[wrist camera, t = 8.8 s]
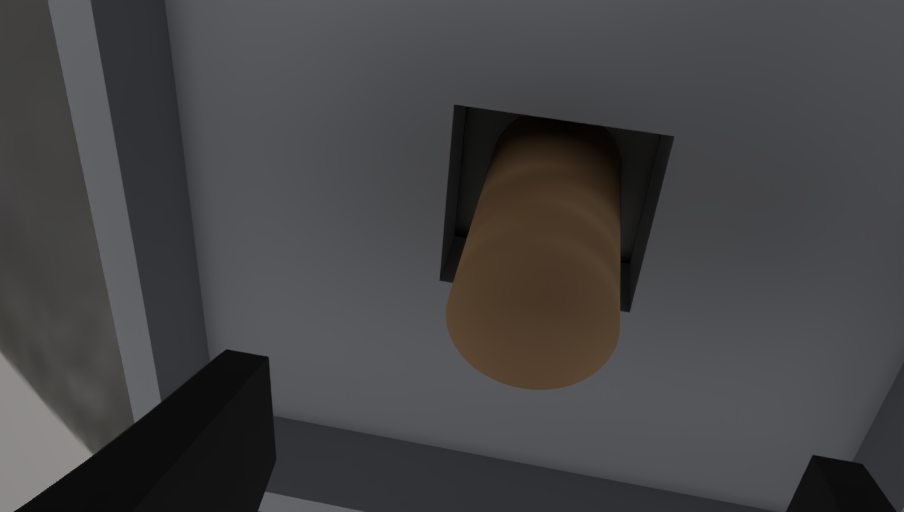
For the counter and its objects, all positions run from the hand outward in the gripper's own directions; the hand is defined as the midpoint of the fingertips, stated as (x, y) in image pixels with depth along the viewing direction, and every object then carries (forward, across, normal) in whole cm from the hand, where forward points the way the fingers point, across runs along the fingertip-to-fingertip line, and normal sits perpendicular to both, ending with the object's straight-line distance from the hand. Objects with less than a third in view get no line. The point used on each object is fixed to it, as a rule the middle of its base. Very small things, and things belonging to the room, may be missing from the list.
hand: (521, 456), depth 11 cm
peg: (+9, 0, 0) cm, 9 cm away
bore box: (+9, 0, 0) cm, 9 cm away
